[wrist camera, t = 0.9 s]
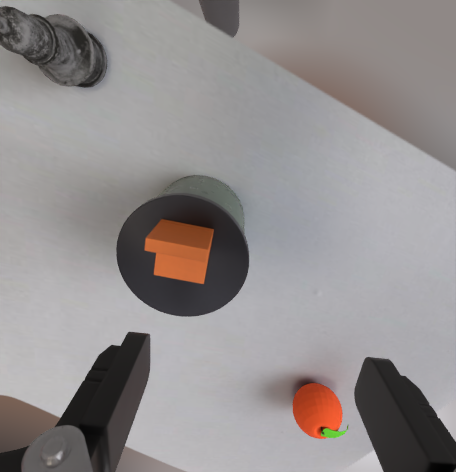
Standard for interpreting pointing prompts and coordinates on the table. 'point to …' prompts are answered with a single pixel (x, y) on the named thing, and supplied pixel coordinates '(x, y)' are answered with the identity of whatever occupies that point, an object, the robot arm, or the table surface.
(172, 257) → the lid slider
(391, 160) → the table surface
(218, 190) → the green lidded canister
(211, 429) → the table surface
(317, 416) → the clementine
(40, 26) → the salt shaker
